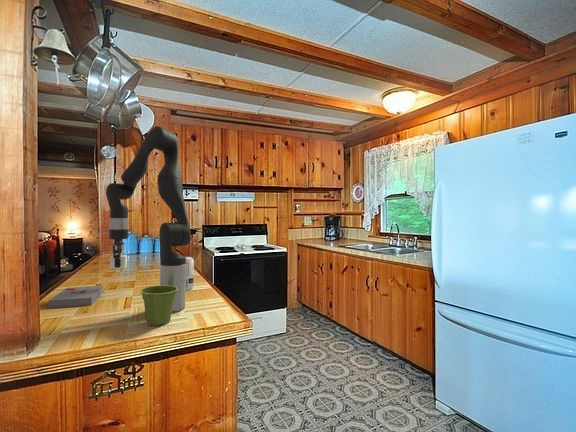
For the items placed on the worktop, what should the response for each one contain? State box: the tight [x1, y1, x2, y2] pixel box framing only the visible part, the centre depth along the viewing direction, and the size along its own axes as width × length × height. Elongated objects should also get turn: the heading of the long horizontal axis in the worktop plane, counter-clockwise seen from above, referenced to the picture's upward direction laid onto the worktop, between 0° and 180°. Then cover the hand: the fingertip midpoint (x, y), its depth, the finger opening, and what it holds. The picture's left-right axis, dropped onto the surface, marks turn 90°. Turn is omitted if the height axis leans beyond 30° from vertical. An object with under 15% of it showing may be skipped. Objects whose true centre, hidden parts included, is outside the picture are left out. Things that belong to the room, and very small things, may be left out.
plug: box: [109, 254, 128, 273], centre depth 135 cm, size 4×6×7 cm
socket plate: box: [48, 285, 104, 309], centre depth 126 cm, size 20×14×4 cm
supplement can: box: [185, 256, 195, 291], centre depth 147 cm, size 8×8×15 cm
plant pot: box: [139, 285, 178, 327], centre depth 102 cm, size 12×12×11 cm
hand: (118, 266), depth 135 cm, fingers closed on plug, 4 cm apart
